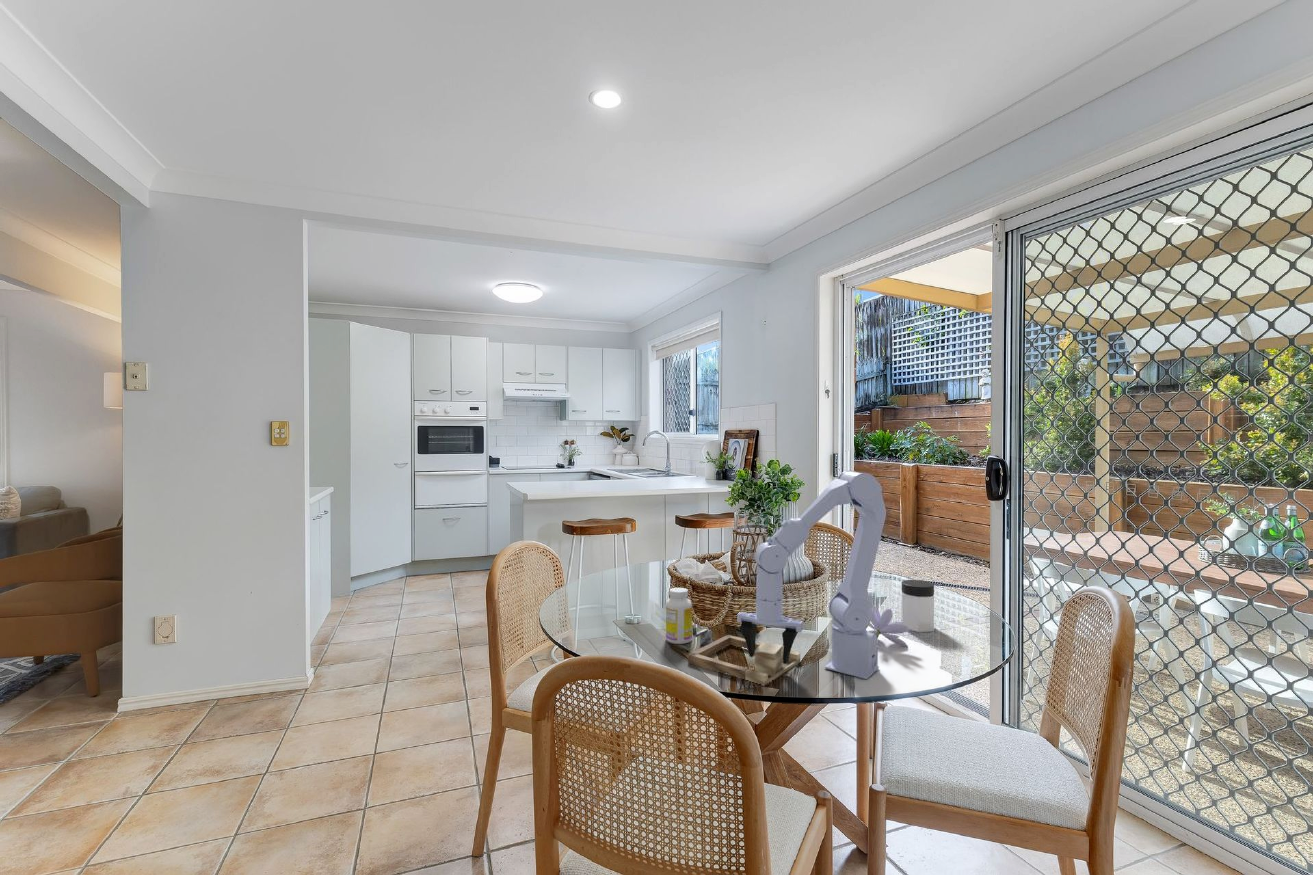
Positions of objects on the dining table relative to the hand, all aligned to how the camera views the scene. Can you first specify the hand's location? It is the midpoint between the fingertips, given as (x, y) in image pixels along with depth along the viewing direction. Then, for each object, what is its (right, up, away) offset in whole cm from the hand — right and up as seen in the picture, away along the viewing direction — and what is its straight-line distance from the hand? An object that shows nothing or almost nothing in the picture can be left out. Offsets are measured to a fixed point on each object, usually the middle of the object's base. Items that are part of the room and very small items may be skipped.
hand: (768, 658), depth 134 cm
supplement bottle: (-19, -2, +18) cm, 27 cm away
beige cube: (0, -3, 0) cm, 3 cm away
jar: (+46, -2, +29) cm, 54 cm away
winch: (-14, -2, +14) cm, 20 cm away
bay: (-5, -2, +4) cm, 6 cm away
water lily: (+32, -3, +16) cm, 36 cm away
